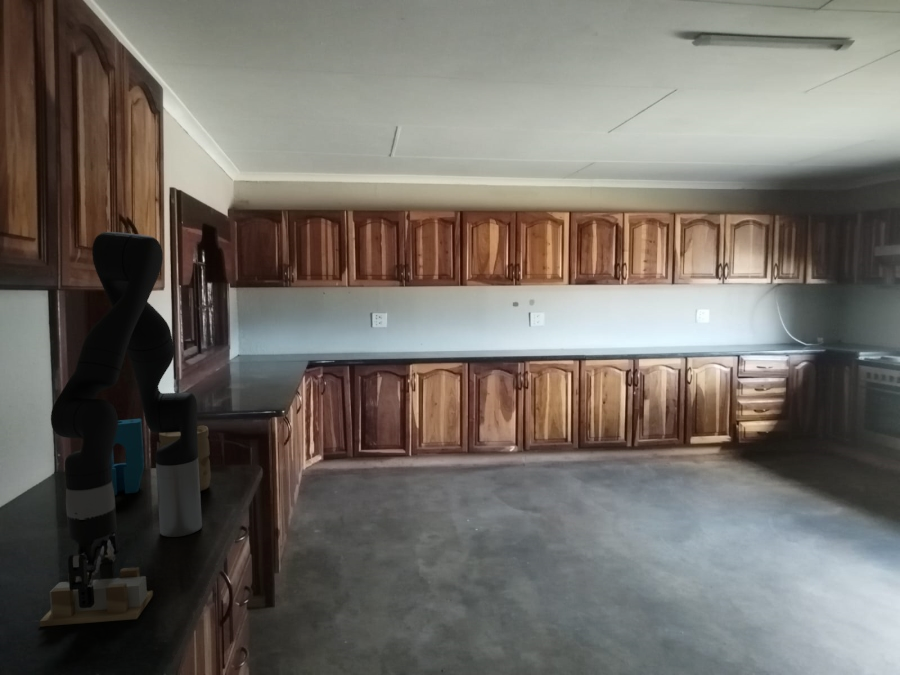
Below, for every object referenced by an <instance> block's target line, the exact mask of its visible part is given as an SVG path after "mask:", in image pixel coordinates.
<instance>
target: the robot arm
mask: <svg viewBox="0 0 900 675" xmlns="http://www.w3.org/2000/svg"><path fill="white" fill-rule="evenodd" d="M91 252H92V254H91V256H92V261H93V266H94V269H95V272H96V275H97V277H98V279H99V281H100V283H101V286H102V287H103V289H104V291H105V294H106V296H107V299H108V300H109V302H110V305H111V308H110V309H109V310H108V312H107V313H105V314H104V315H103V316H102V317H101V318H100V319H99V320H98V321H97V322H96V323H95V324H94V326H92V328H91V329H90V330H89V331H88V333H87V335H86V337H85V338H84V341H83V343H82V346H81V350H80V352H79V355H78V356H79V357H78V361H77V364H76V367H75V370H74V372H73V374H72V375H71V377H70V378H69V380H68V381H67V382H66V383H65V385H64V387H63V389H62V390H61V392H60V394H59V395H58V397H57V398H56V400H55V403H54V405H53V407H52V409H51V414H50V424H51V427H52V429H53V432H54V433H56V435H58V436H59V437H63V438H69V439H82V440H83V441H82V447H81V449H80V450H77V451H74V452H72V453H69V455H68V456H67V457H66V458H65V460H64V473H65V486H66V494H65V506H66V507H65V509H66V520H67V521H66V522H67V532H68V538H69V539H70V540H72V541H74V542H76V543H77V545H78V546H77V547H78V548H77V553H76V554H71V555H68V559H67V560H68V561H67V564H68V565H67V566H68V574H69V588H70V590H78V596H79V606H80V608H90V607H92V606H93V605H94V590H93V580H95V575H96V574H98V573H100V577H99V578H100V579H114V578H115V564H114V563H115V561H116V555H119V553H120V546H119V538H118V537H119V536H118V526H117V525H118V524H117V511H116V497H115V496H116V495H114V489H113V484H112V476H111V463H110V458H111V453H112V450H113V451H114V446H115V445H114V440H115V436H116V432H117V427H118V421H119V418H118V412H117V411H116V410H117V409H116V408H115V406H114V405H113V404H112V403H111V402H110V401H109V400H105V399H102V398H101V399H99V398H96V397H97V396H98V394H99V392H101V391H103V390H106V389H109V388H112V387H115V385H116V384H117V383H118V381H119V378H120V374H121V371H122V367H123V364H124V360H125V357H126V354H127V357H128V359H129V362H130V365H131V368H132V370H133V374H134V378H135V381H136V384H137V387H138V391H139V397H140V401H141V407H142V411H143V415H144V420H145V423H146V426H147V428H148V430H150V431H151V432H153V433H158V434H159V433H168V432H180V433H181V435H180V438H179V439H178V440H177V441H175V442H173V443H170V444H168V445H165V446H163V447H161V448H160V447H159V448H158V449H156V451H155V454H154V457H155V458H154V459H155V460H154V461H155V468H156V469H155V472H156V484H157V485H156V486H157V487H156V488H157V502H158V504H157V505H158V517H159V518H158V519H159V520H158V522H159V532H160V535H161V536H163V537H168V538H178V537H179V538H180V537H184V536H189V535H191V534H194V533H196V532H198V531H199V530H201V529H202V527H203V521H202V520H203V519H202V505H201V504H202V502H201V501H202V500H201V491H200V481H199V465H198V437H197V427H198V403H197V399H196V397H195V396H196V395H194V394H193V393H192V392H161V391H160V390H159V385H160V382H161V380H162V379H163V377H164V375H165V373H166V372H167V370H168V369H169V367H170V366H171V364H172V361H173V359H174V357H175V353H176V351H175V350H176V349H175V343H174V341H173V336H172V332H171V328H170V326H169V324H168V323H167V320H165V318H164V317H163V316H162V315H161V313H159V311H158V310H156V308H155V307H154V306H153V305H152V304H151V303H149V302H148V301H149V298H150V296H151V294H152V292H153V290H154V288H155V285H156V283H157V281H158V278H159V275H160V272H161V269H162V266H163V258H164V257H163V254H164V253H163V249H162V246H161V243H160V241H159V240H158V239H157V238H155V237H153V236H151V235H146V234H145V235H144V234H137V233H136V234H135V233H127V232H118V231H116V232H115V231H105V232H102V233H99V234H97V236H96V237H95V238H94V241H93V243H92V251H91ZM113 445H114V446H113ZM87 574H89V577H88V576H87ZM75 577H76V579H75Z"/></svg>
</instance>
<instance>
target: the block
mask: <svg viewBox="0 0 900 675" xmlns="http://www.w3.org/2000/svg"><path fill="white" fill-rule="evenodd" d="M143 439H144V438H143V425H142V418H133V419H121V420H118V427H117V432H116V436H115V440H114V445H113V447H115V445H116V444H119V445H120V446H122V447H123V448H124V450H125V451H124V453H125V462H121V463H115V462H114V460H115V459H114V449H113V450H112V453H111V458H110V463H111V476H112V484H113V489H114V495H115V496H117V495H118V493H119V492H123V491H124V494H127V495H128V494H134V493H138V492H139V489H140V485H141V481H142V477H143V473H144V468H145V458H144V457H145V456H144V442H143V441H144V440H143Z"/></svg>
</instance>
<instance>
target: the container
mask: <svg viewBox="0 0 900 675" xmlns="http://www.w3.org/2000/svg"><path fill="white" fill-rule="evenodd" d="M180 435H181V433H180V432H168V433H158V436H159V437H158V438H159V442H160V443H159V448H161V447H163V446H165V445H168V444H170V443H173V442H175V441H177V440H178V439H179V438H180ZM197 437H198V465H199V481H200V492H202V491H205V490H207V489H208V488H209V486H210V484H211V479H212V473H211V462H210V459H209V456H210V453H211V452H210V441H209V428H208V426H206V425H197Z"/></svg>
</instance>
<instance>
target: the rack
mask: <svg viewBox="0 0 900 675" xmlns="http://www.w3.org/2000/svg"><path fill="white" fill-rule="evenodd" d="M87 576H88V577H89V574H87ZM128 577H141V574H140V566H138V567H124V568H123V567H122V568H121V569H120V571H119V578H128ZM67 578H68V581H67V582H69V573H67ZM75 579H76V577H75ZM53 588H54V587H53ZM53 588H52V589H53ZM52 589H51V590H52ZM51 590H50V591H51ZM153 596H154V590H147V598H146V599H145V600H144V602H143V603H142V605H141V606H140V607H130V608H128V599H127V584H126V583H122V584H109V585H108V586H107V587H106V599H107V609H104V610H91V611H78V612H75V610H74V598H73V590H70V588H69V587H65V588H54V589H53V590H52V591H51V599H52V610H53V613H52V614H51V609H49V611H48V612H47V613H46V614H45V615H44V616H43V617H42V618H41V619H40V620H39V627H51V626H62V625H63V626H64V625H76V624H79V625H80V624H89V623H101V622H102V623H103V622H104V623H105V622H115V621H117V622H118V621H127V620H130V621H131V620H138V619H139V617H140V615H141V614H142V612H143V611H144V610H145V608H146V606H147V605H148V604H149V602H150V601H151V599H152V598H153Z"/></svg>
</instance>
